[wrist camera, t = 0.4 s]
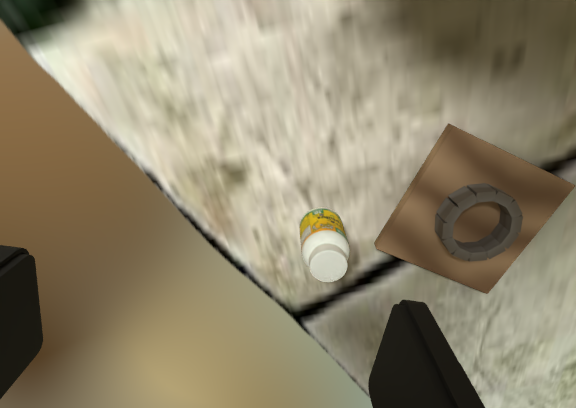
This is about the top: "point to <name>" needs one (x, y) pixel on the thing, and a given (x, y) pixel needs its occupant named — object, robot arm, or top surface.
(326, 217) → the supplement bottle
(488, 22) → the top surface
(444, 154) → the collar board
